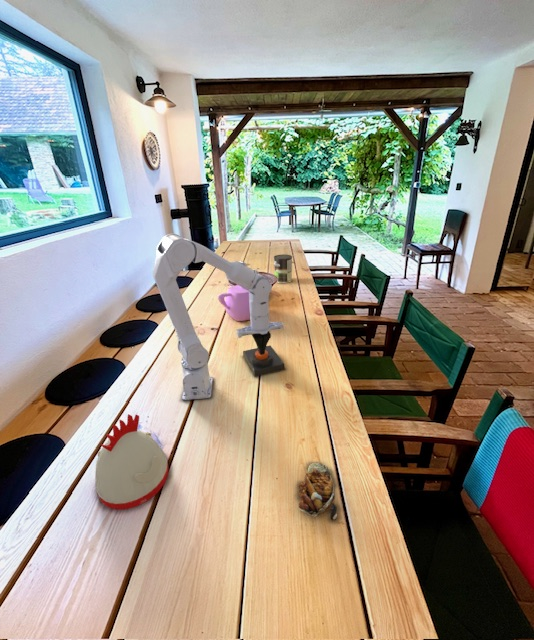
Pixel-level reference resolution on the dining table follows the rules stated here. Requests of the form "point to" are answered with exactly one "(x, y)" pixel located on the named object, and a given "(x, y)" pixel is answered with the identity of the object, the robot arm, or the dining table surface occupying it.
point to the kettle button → (262, 356)
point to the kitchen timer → (129, 467)
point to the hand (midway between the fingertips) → (261, 352)
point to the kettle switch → (263, 362)
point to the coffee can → (283, 268)
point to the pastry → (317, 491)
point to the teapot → (236, 303)
